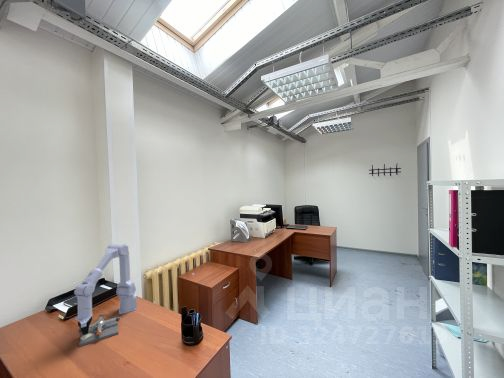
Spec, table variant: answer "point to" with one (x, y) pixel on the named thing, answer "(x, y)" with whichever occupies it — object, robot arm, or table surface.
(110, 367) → the table surface
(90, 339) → the stand plate
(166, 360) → the table surface
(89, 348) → the table surface
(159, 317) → the table surface
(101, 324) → the silver metal piece
